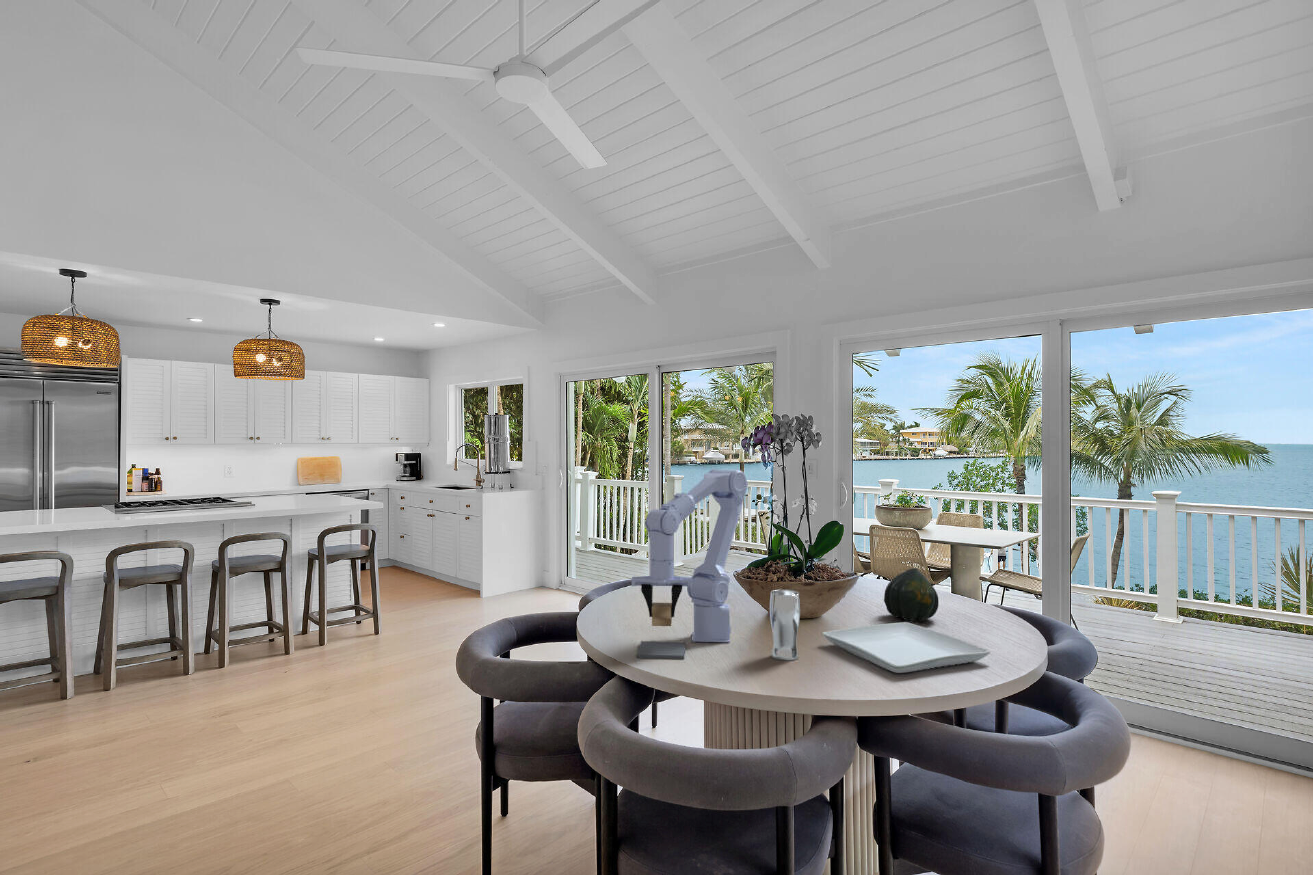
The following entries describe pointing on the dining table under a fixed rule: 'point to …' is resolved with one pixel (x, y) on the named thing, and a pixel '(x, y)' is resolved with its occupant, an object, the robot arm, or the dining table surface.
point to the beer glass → (784, 623)
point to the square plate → (905, 646)
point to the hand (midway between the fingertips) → (661, 616)
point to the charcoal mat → (661, 650)
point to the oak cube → (661, 614)
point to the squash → (911, 596)
